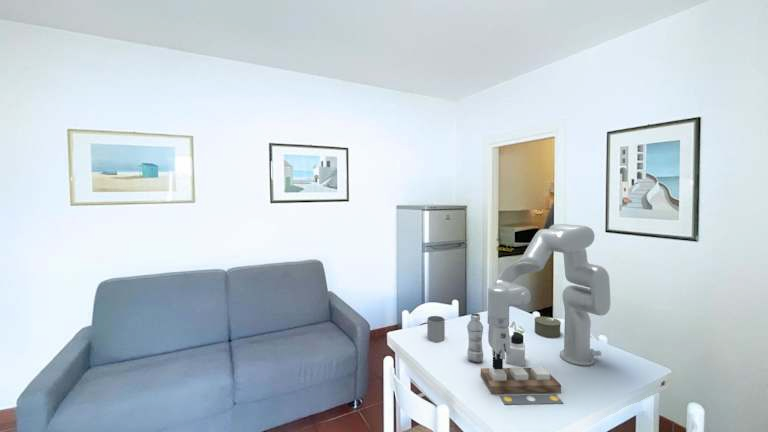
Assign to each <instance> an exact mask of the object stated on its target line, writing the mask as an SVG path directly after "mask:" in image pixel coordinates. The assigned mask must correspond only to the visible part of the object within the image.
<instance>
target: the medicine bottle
mask: <svg viewBox="0 0 768 432" xmlns="http://www.w3.org/2000/svg"><path fill="white" fill-rule="evenodd" d="M509 337H510V354H507V353H506V352H505V363H506V364H510V365H516V366H520V367H525V363H526V361H525V360H526V359H525V358H526V343H525V342H524V335H523V334H522V333H520V332H519V331H509Z"/></svg>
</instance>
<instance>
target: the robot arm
mask: <svg viewBox="0 0 768 432" xmlns="http://www.w3.org/2000/svg"><path fill="white" fill-rule="evenodd" d="M594 240H595V233H594V230H593V228H591V227H589V226H587V225H582V224H581V225H579V224H567V223H555V224H552V225H550V226H549V228H542V229H539V230H538V231H537V232H536V233H535V234H534V236H533V237H532V239H531V241H530V242H529V245H527V248H526V249H525V251H524V253H523V254H522V256H521V257H520V258H519V259H517V260H515V261H513V262H512V263H510V264H509V265H507V266H506V267H505V268H504V269H503V270H502V271H501V272H500V274H499V275H498V276H497V278H496V280H495V282H494V284H493V285H492V286H489V288H488V290H487V324H488V335H487V339H488V340H487V341H488V345H489V346H490V348H491V351H492V353H491V354H492V368H494V369H495V370H497V369H503V368H504V360H506V353H507V354H510V337H509V333H510V329H509V326H510V307H525V306H526V305H528V304H529V302H530V301H531V299H532V294H531V291H530V290H529V289H528V288H527V287H525V286H522V285H520V284H516V283H514V282H515V280H516V279H518V278H519V277H521V276H523V275H527V274H532V273H536V272H540V271H541V270H543V269H544V267H545V265H546V264H547V262H548V260H549V258H550V257H551V255H552V253H553V252H556V253H562V254H563V265H564V276H565V279H566V280H567V282H568V283H571V284H572V285H568V286H566V287H565V288H563V291H562V294H561V295H562V301H563V307H564V333H563V334H564V336H563V344H564V345H563V349H562V350H560V352H559V356H560V358H561V359H562V360H564V361H566V362H567V363H570V364H573V365H577V366H585V367H587V366H592V365H593V364H594V363H595V359H594V357H595V356H597V357H598V356H599V357H600V356H602V352H601V351H600V350H595V349H594V348H591V326H592V325H591V321H592V320H591V318H590V317H591V316H590V314H592V315H595V316H600V317H601V316H605V315H607V314H608V313H609V311H610V308H611V287H610V286H611V285H610V276H609V272H608V271H607V269H606V268H605V267H603V266H601V265H598V264H592V263H589V261H588V254H587V248H589V247H590V246H591V245H592V244H593V243H594Z"/></svg>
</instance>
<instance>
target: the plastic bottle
mask: <svg viewBox="0 0 768 432" xmlns="http://www.w3.org/2000/svg"><path fill="white" fill-rule="evenodd" d="M480 315H481V314H480V313H477V312H473V313H471V314H470V320H469V322H468V323H467V325H466V326H467V327H466V328H467V336H468V347H467V351H466V354H467V358H468V359H469V361H470V362H474V363H481V362H482V361H483V359H484V351H483V340H482V339H483V333H484V326H483V324H482V321H480V320H481V316H480Z"/></svg>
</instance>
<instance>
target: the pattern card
mask: <svg viewBox="0 0 768 432" xmlns="http://www.w3.org/2000/svg"><path fill="white" fill-rule="evenodd" d="M498 395H499V399H500V400H501V401H502V402H503V405H504V406H515V405H517V406H519V405H520V406H521V405H527V406H528V405H563V404H564V401H562V400H561V398H560V397H559V396H558V394H557V393H549V394H498Z"/></svg>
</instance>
